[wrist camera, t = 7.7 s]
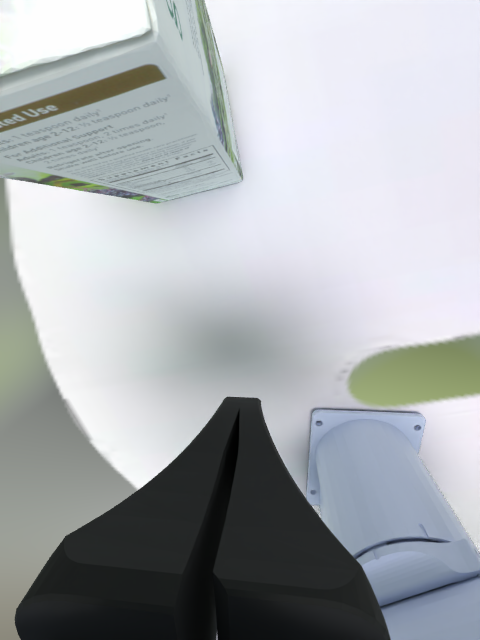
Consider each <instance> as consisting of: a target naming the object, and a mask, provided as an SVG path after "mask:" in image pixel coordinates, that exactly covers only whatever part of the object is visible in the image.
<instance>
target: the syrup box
mask: <svg viewBox="0 0 480 640" xmlns="http://www.w3.org/2000/svg"><path fill="white" fill-rule="evenodd" d="M0 177H1V178H7V179H14V180H21V181H27V182H33V183H38V184H45V185H50V186H56V187H62V188H68V189H74V190H80V191H86V192H92V193H99V194H105V195H111V196H117V197H123V198H129V199H135V200H139V201H146V202H152V203H160V202H164V201H168V200H172V199H176V198H179V197H183V196H187V195H190V194H194V193H198V192H202V191H206V190H210V189H214V188H218V187H222V186H226V185H230V184H234V183H238V182H241V181H242V180H243V175H242V169H241V163H240V159H239V153H238V148H237V143H236V137H235V132H234V126H233V121H232V116H231V110H230V105H229V99H228V94H227V88H226V83H225V78H224V72H223V67H222V63H221V59H220V55H219V52H218V48H217V44H216V41H215V37H214V33H213V30H212V26H211V23H210V19H209V15H208V12H207V9H206V5H205V1H204V0H0Z"/></svg>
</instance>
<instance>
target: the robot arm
mask: <svg viewBox="0 0 480 640" xmlns="http://www.w3.org/2000/svg"><path fill="white" fill-rule="evenodd" d="M316 421H321V422H320V423H317V422H316ZM425 423H426V420H425V418H424V417H423V415H421V414H418V413H395V412H370V411H345V410H320V409H319V410H315V411H314V412H313V413H312V422H311V436H310V450H309V465H308V479H307V493H306V498H305V496H304V495H303V494H302V492H301V491H300V489H299V488H298V486H297V485H296V483H295V482H294V480H293V478H292V477H291V475H290V473H289V472H288V470H287V468H286V467H285V465H284V463H283V461H282V459H281V457H280V455H279V453H278V451H277V449H276V447H275V445H274V443H273V441H272V438H271V436H270V433H269V431H268V428H267V426H266V423H265V420H264V416H263V413H262V408H261V401H260V400H259V399H258V398H244V397H226V398H225V399H224V400H223V402H222V404H221V405H220V407H219V408H218V410H217V411H216V412H215V414H214V415H213V417H212V418H211V419H210V420H209V422H208V423H207V424H206V426H205V427H204V428H203V429H202V431H201V432H200V433H199V434H198V435H197V436H196V437H195V439H194V440H193V441H192V442H191V443H190V444H189V445H188V446H187V448H186V449H185V450H184V451H183V452H182V453H181V454H180V455H179V456H178V457H177V458H176V459H175V460H173V461H172V462H171V463H170V464H169V465H168V466H167V467H166V468H165V469H164V470H162V471H161V472H160V473H159V474H158V475H157V476H155V477H154V478H153V479H152V480H151V481H149V482H148V483H147V484H146V485H144V486H143V487H142V488H141V489H139V490H138V491H136V492H135V493H134V494H132V495H131V496H129V497H128V498H127V499H125V500H124V501H122V502H121V503H120V504H118V505H116V506H115V507H114V508H112V509H111V510H109V511H107V512H106V513H104V514H103V515H101V516H99V517H98V518H96V519H94V520H92V521H91V522H89V523H87V524H86V525H84V526H82V527H81V528H79V529H77V530H76V531H74V532H72V533H70V534H69V535H67V536H65V538H64V539H63V541H62V542H61V543H60V545H59V546H58V547H57V549H56V550H55V551H54V553H53V554H52V555H51V557H50V558H49V560H48V561H47V563H46V564H45V566H44V567H43V569H42V570H41V572H40V574H39V575H38V577H37V578H36V580H35V581H34V583H33V584H32V586H31V588H30V589H29V591H28V592H27V594H26V595H25V597H24V598H23V600H22V601H21V603H20V604H19V606H18V608H17V609H16V615H15V625H16V628H17V632H18V635H19V637H20V639H21V640H216V635H217V634H218V640H480V553H479V551H478V550H477V548H476V546H475V545H474V543H473V542H472V540H471V538H470V537H469V535H468V534H467V532H466V531H465V529H464V527H463V526H462V524H461V523H460V521H459V519H458V518H457V516H456V515H455V513H454V511H453V510H452V508H451V507H450V505H449V503H448V502H447V500H446V499H445V497H444V495H443V494H442V492H441V491H440V489H439V488H438V486H437V484H436V483H435V481H434V480H433V478H432V476H431V475H430V473H429V472H428V470H427V468H426V467H425V465H424V464H423V462H422V460H421V459H420V457H419V456H418V453H419V449H420V445H421V441H422V436H423V432H424V428H425ZM416 425H418V426H417V427H414V426H416ZM311 505H319V507H320V513H321V518H322V520H321V518H320V517H319V516H318V514H317V513H316V512H315V510H314V509H313V507H312V506H311Z"/></svg>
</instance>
